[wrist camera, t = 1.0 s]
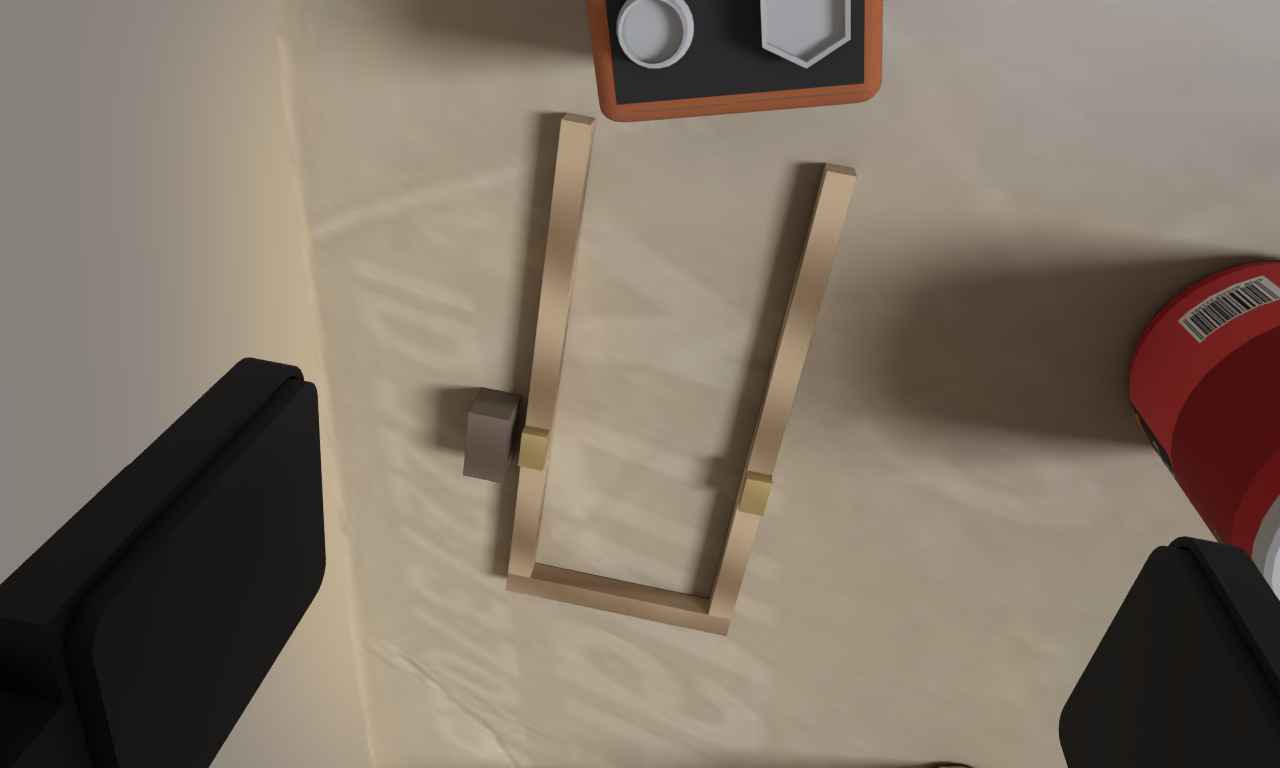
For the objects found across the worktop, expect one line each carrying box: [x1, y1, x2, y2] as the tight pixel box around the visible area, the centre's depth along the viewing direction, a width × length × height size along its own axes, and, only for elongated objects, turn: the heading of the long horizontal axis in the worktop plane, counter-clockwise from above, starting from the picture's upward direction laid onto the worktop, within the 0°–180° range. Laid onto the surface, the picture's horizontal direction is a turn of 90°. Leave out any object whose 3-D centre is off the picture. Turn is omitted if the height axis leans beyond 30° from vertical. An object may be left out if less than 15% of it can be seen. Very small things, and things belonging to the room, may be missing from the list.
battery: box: [586, 0, 883, 122], centre depth 24 cm, size 4×7×10 cm, turn 96°
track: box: [463, 113, 857, 636], centre depth 36 cm, size 21×12×2 cm, turn 171°
